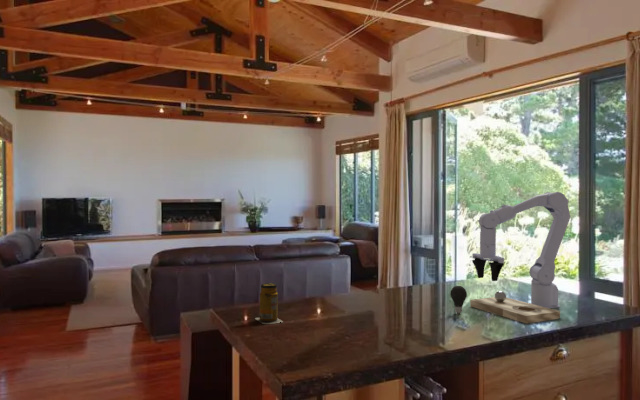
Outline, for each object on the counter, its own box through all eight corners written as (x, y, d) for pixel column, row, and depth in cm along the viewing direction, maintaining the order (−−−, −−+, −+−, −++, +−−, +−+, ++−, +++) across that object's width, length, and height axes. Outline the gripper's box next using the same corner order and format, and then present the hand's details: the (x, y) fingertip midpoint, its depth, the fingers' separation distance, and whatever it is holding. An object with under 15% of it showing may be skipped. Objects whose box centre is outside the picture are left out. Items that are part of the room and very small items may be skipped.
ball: (500, 300, 175) (500, 289, 175) (508, 302, 171) (508, 291, 171) (492, 301, 173) (492, 290, 173) (500, 303, 169) (500, 292, 169)
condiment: (274, 316, 159) (275, 281, 159) (283, 322, 151) (284, 286, 151) (254, 318, 156) (254, 283, 155) (262, 325, 148) (262, 288, 148)
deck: (501, 302, 182) (501, 296, 182) (560, 318, 158) (560, 311, 158) (470, 306, 175) (470, 299, 175) (526, 323, 152) (526, 315, 152)
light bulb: (467, 316, 161) (467, 287, 160) (451, 315, 162) (451, 286, 162) (465, 312, 166) (465, 284, 166) (449, 311, 167) (449, 284, 167)
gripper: (466, 242, 183) (466, 276, 183) (494, 246, 170) (494, 283, 170) (480, 242, 186) (479, 275, 186) (508, 245, 173) (508, 281, 173)
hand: (487, 279), depth 178 cm, fingers open, 7 cm apart
